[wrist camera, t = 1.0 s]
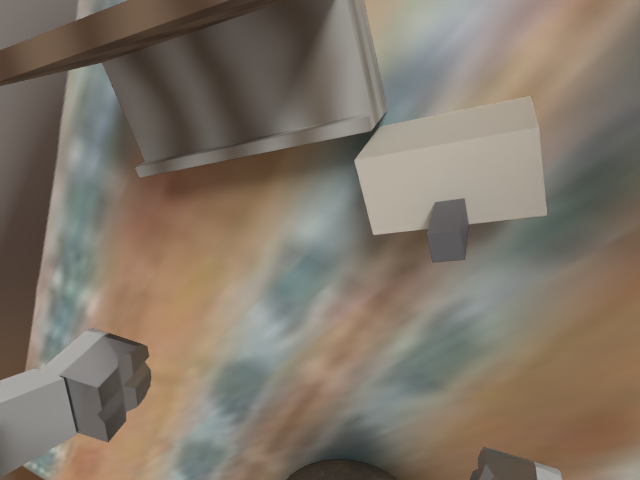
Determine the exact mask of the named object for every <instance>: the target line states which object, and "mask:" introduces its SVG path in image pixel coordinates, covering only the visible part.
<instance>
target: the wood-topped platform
mask: <svg viewBox="0 0 640 480" xmlns="http://www.w3.org/2000/svg"><path fill="white" fill-rule="evenodd" d="M98 63H102V64H103V66H104V68H105V70H106V73H107V75H108V77H109V80H110V82H111V84H112V87H113V89H114V91H115V94H116V96H117V98H118V101H119V103H120V105H121V107H122V110H123V112H124V114H125V117H126V119H127V121H128V124H129V126H130V128H131V131H132V133H133V135H134V138H135V140H136V142H137V144H138V147H139V149H140V151H141V154H142V156H143V158H144V161H145V162H144V163H142V164H140V165H139V166H137V167H135V168H136V171H137V173H138V175H139V178H141V177H146V176H151V175H156V174H161V173H166V172H171V171H176V170H181V169H186V168H191V167H196V166H200V165H205V164H210V163H215V162H220V161H225V160H230V159H235V158H240V157H245V156H250V155H255V154H260V153H265V152H270V151H275V150H280V149H285V148H290V147H295V146H300V145H305V144H310V143H315V142H320V141H325V140H330V139H335V138H340V137H345V136H350V135H354V134H359V133H364V132H369V131H372V129H373V128H374V127H375V125H376V124H377V123H378V122H379V120H380V119H381V118H382V116H383V115H384V114H385V113H386V111H387V105H386V100H385V96H384V91H383V87H382V82H381V77H380V73H379V68H378V63H377V59H376V54H375V50H374V45H373V40H372V36H371V31H370V26H369V22H368V17H367V13H366V8H365V3H364V0H128V1H125V2H123V3H120V4H117V5H115V6H112V7H110V8H107V9H105V10H102V11H100V12H97V13H94V14H92V15H89V16H87V17H84V18H82V19H79V20H77V21H74V22H72V23H69V24H66V25H64V26H61V27H59V28H56V29H54V30H51V31H49V32H46V33H44V34H41V35H39V36H36V37H33V38H31V39H28V40H26V41H23V42H21V43H18V44H16V45H13V46H10V47H8V48H5V49H3V50H0V86H2V85H7V84H11V83H15V82H19V81H24V80H28V79H33V78H37V77H41V76H46V75H50V74H54V73H59V72H63V71H67V70H72V69H76V68H80V67H85V66H89V65H93V64H98Z"/></svg>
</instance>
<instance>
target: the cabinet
mask: <svg viewBox="0 0 640 480" xmlns="http://www.w3.org/2000/svg"><path fill="white" fill-rule="evenodd" d="M354 161H355V165H356V169H357V173H358V177H359V181H360V185H361V189H362V193H363V197H364V201H365V204H366V208H367V212H368V216H369V220H370V224H371V228H372V232H373V235H379V234H388V233H396V232H405V231H414V230H423V229H428V231H427V238H428V243H429V248H430V253H431V258H432V262H444V261H455V260H465V256H466V247H467V237H468V228H469V224H476V223H485V222H493V221H502V220H511V219H520V218H529V217H537V216H546V215H547V208H546V197H545V186H544V176H543V165H542V154H541V144H540V133H539V126H538V122H537V118H536V115H535V111H534V107H533V104H532V100H531V96H527V97H522V98H518V99H513V100H508V101H503V102H498V103H493V104H488V105H483V106H478V107H473V108H468V109H464V110H459V111H454V112H449V113H444V114H439V115H434V116H429V117H424V118H419V119H414V120H409V121H405V122H400V123H395V124H390V125H385V126H380V127H379V128H378V129H377V131H376V132H375V133H374V135H373V136H372V137H371V139H370V140H369V141H368V143H367V144H366V145H365V147H364V148H363V149H362V151H361V152H360V153H359V155H358V156H357V157H356V159H355V160H354Z"/></svg>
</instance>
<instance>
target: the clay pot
mask: <svg viewBox="0 0 640 480" xmlns="http://www.w3.org/2000/svg"><path fill="white" fill-rule="evenodd" d="M286 480H396V479H395V478H394V477H392V476H391V475H389V474H388V473H386V472H384V471H383V470H381V469H379V468H377V467H374V466H371V465H368V464H364V463H360V462H356V461H350V460H327V461H321V462H317V463H313V464H310V465H308V466H305V467H303V468H301V469H299V470H297V471H296V472H295V473H293V474H292V475H290V476H289V478H288V479H286Z"/></svg>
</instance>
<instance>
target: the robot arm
mask: <svg viewBox="0 0 640 480" xmlns="http://www.w3.org/2000/svg"><path fill="white" fill-rule="evenodd" d="M148 357H149V352H148V346H145V345H143V344H140V343H137V342H134V341H131V340H128V339H125V338H122V337H119V336H116V335H113V334H110V333H107V332H104V331H101V330H97V329H94V328H91V329H88V330H86V331H84V332H83V333H82V334H81V335H80V336H79V337H78V338H76V339H75V340H74V341H73V342H72V343H71V344H69V345H68V346H67V347H66V348H65V349H64V350H63V351H61V352H60V353H59V354H58V355H57V356H56V357H54V358H53V359H52V360H51V361H50V362H49V363H48V364H46V365H45V366H44V367H43V368H42V369H41V370H39V369H32V370H29V371H26V372H23V373H20V374H18V375H15V376H12V377H9V378H6V379H3V380H1V381H0V477H2V476H4V475H6V474H8V473H9V472H11V471H13V470H15V469H16V468H18V467H20V466H22V465H24V464H25V463H27V462H29V461H31V460H32V459H34V458H36V457H38V456H40V455H41V454H43V453H45V452H47V451H48V450H50V449H52V448H54V447H56V446H57V445H59V444H61V443H63V442H65V441H66V440H68V439H70V438H72V437H73V436H75V435H77V433H80V434H84V435H87V436H90V437H93V438H96V439H99V440H102V441H105V442H109V441H110V440H111V438H112V437H113V436H114V435H115V434H116V432H117V431H118V430H119V429H120V428H121V426H122V425H123V424H124V423H125V422H126V412H127V411H129V410H132V409H134V408H136V407H138V406H139V404H140V403H141V402H142V400H143V399H144V398H145V396H146V394H147V392H148V389H149V387H150V383H151V370H150V368H149V367H148V366H147V364H146V363H145V361H146V360H147V358H148ZM470 480H562V475H561V473H560V471H559V469H557V468H553V467H550V466H547V465H543V464H540V463H536V462H532V461H531V460H527V459H524V458H520V457H517V456H514V455H510V454H507V453H503V452H500V451H496V450H493V449H489V448H486V447H483V449H482V450H481V452H480V454H479V457H478V469H477V470H474V471H473V472H472V475H471V478H470Z"/></svg>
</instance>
